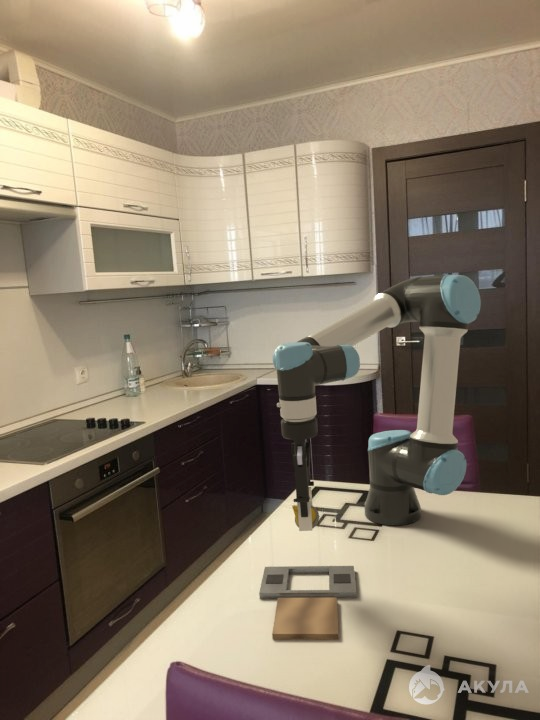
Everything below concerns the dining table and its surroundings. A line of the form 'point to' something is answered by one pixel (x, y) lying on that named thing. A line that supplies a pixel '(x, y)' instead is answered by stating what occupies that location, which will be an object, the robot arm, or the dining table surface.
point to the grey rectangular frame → (338, 588)
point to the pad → (306, 618)
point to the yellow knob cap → (313, 512)
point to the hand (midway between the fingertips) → (306, 522)
